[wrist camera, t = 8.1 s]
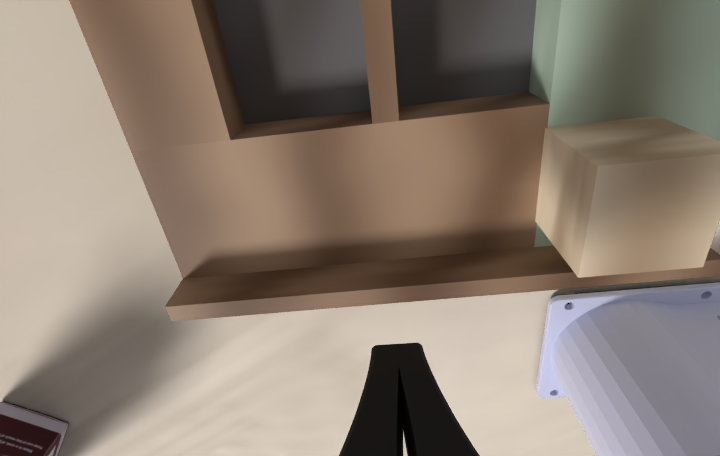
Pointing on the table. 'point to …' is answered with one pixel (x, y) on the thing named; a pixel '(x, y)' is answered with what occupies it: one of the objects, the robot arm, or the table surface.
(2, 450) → the supplement box
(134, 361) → the table surface
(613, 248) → the maple block
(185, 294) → the trap deck
